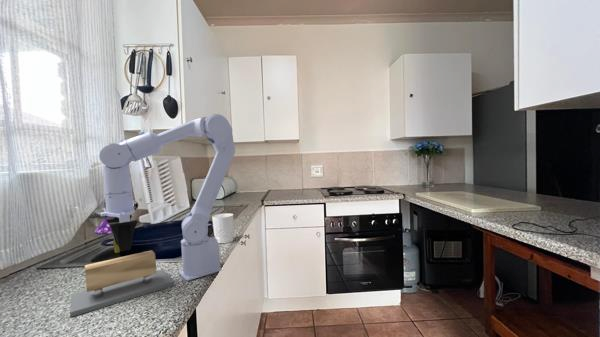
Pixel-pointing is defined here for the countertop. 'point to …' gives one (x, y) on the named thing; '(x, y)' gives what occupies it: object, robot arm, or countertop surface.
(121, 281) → the board
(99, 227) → the decorative mushroom
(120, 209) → the robot arm
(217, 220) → the white cup
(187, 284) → the countertop surface
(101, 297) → the flat gray rectangular plate
